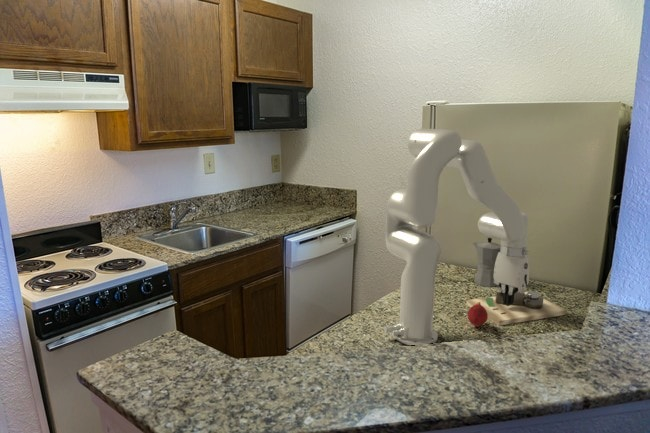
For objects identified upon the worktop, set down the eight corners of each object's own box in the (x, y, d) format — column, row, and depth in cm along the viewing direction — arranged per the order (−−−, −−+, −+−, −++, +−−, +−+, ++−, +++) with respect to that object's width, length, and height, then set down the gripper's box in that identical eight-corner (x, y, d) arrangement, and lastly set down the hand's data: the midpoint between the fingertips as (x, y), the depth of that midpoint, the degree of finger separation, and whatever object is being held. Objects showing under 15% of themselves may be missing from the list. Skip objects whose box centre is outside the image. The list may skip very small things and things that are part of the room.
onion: (487, 331, 139) (489, 306, 137) (467, 330, 140) (469, 305, 138) (485, 323, 145) (487, 299, 143) (466, 321, 146) (467, 297, 144)
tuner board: (499, 325, 143) (499, 320, 143) (466, 304, 159) (466, 299, 158) (566, 314, 151) (566, 309, 150) (528, 295, 167) (529, 290, 166)
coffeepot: (464, 281, 181) (467, 236, 177) (477, 275, 187) (480, 232, 183) (502, 292, 170) (506, 244, 166) (514, 285, 176) (518, 240, 172)
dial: (540, 301, 156) (541, 290, 156) (544, 309, 150) (546, 297, 149) (494, 298, 160) (495, 286, 159) (496, 305, 153) (497, 293, 153)
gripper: (541, 253, 144) (535, 308, 148) (497, 243, 156) (493, 294, 160) (529, 258, 140) (523, 315, 144) (485, 247, 151) (481, 300, 155)
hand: (507, 304), depth 152 cm, fingers closed
